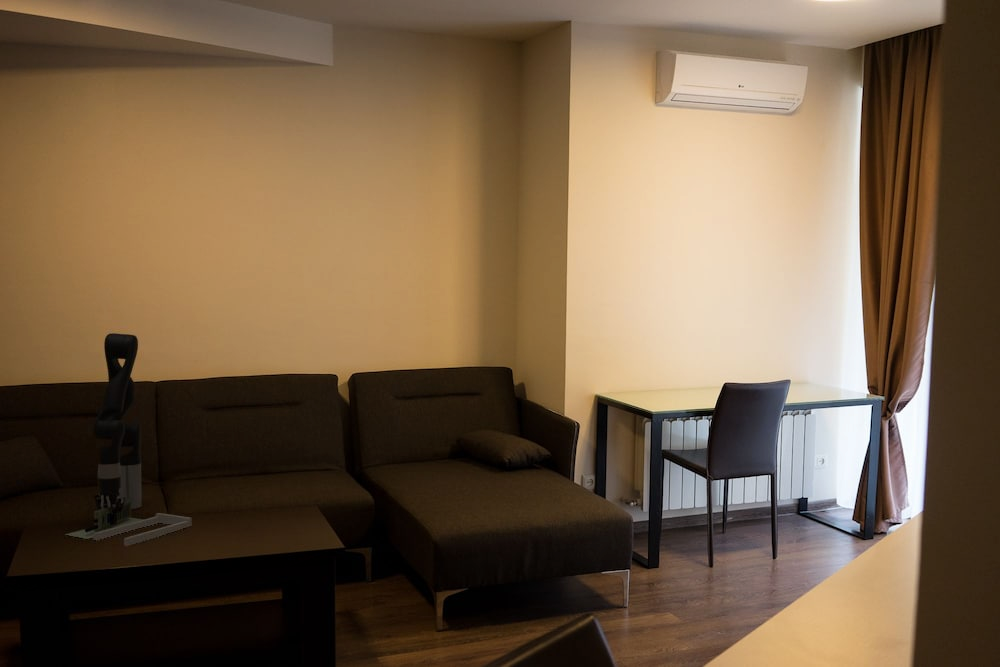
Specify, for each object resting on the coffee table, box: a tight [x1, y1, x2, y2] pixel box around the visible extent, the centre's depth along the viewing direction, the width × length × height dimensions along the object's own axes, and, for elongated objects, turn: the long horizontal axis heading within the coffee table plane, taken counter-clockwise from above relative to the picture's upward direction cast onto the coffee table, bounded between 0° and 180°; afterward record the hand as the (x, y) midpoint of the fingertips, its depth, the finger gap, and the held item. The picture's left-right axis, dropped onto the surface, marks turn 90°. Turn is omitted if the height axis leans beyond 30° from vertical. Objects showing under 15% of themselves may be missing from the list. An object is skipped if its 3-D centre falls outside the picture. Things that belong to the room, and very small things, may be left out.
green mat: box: [64, 517, 144, 540], centre depth 324 cm, size 11×28×1 cm, turn 154°
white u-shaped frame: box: [92, 512, 193, 547], centre depth 318 cm, size 16×28×4 cm, turn 154°
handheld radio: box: [85, 500, 132, 532], centre depth 324 cm, size 7×3×25 cm
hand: (109, 523), depth 324 cm, fingers closed on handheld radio, 3 cm apart
